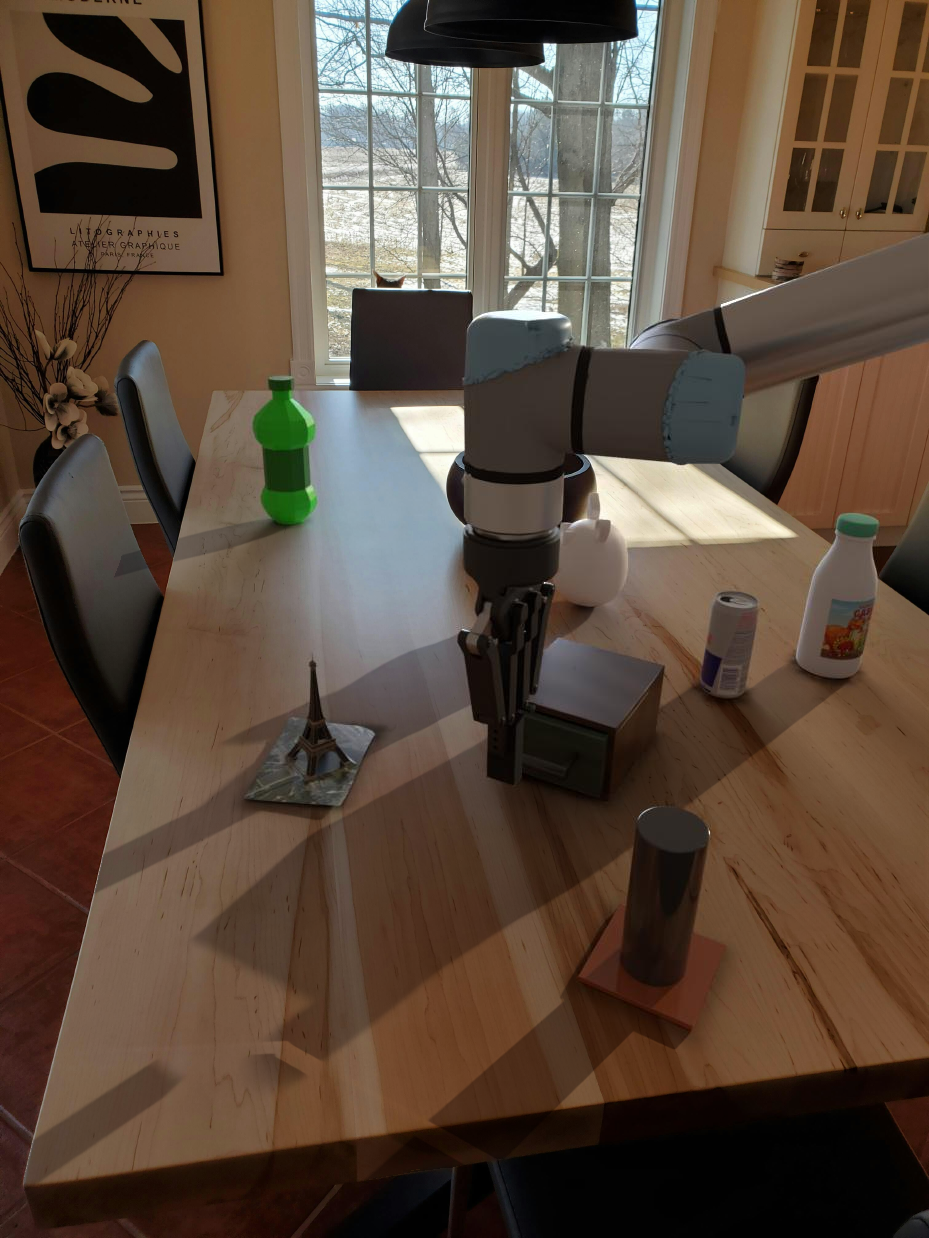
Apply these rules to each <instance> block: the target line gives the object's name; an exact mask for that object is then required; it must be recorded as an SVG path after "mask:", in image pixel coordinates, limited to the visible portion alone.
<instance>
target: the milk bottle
mask: <svg viewBox="0 0 929 1238" xmlns="http://www.w3.org/2000/svg"><path fill="white" fill-rule="evenodd" d="M879 525H880V522H879V520H878V519H876V518H875V517H874V516H871V515H867V514H865V513H864V514H863V513H855V512H847V513H846V512H845V513H842V514H839V516H838V517H837V520H836V524H835V527H836V528H835V530H834V534H835V539H834V541H833V543H832V545H831V547H830V549H829V550H828V551H827V553H826V554H825V555H824V557H823V558H822V559H821V560H820V562H819V563H818V565H817V567H816V569H815V570H814V573H813V576H812V578H811V582H810V586H809V590H808V594H807V599H806V603H805V609H804V614H803V618H802V623H801V628H800V634H799V638H798V642H797V647H796V653H795V659H796V662H797V664H798V665H799V667H801V668H802V669H803V670H805V671H806V672H809V673H811V674H813V675H816V676H819V677H823V678H829V679H847V678H850V677H853V676H854V675H855V674H856V673H857V672H858V671H859V669H860V666H861V663H862V658H863V654H864V651H865V646H866V641H867V638H868V637H867V636H868V634H869V628H870V626H871V621H872V616H873V612H874V607H875V603H876V597H877V593H878V585H879V584H878V583H879V582H878V573H877V567H876V565H875V560H874V554H873V542H874V541H875V540H876V538H877V534H878V531H879V527H880V526H879Z"/></svg>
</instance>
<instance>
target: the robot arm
mask: <svg viewBox="0 0 929 1238" xmlns="http://www.w3.org/2000/svg"><path fill="white" fill-rule="evenodd" d="M928 342H929V231H928V232H925V233H922V234H919V235H917V236H914V237H912V238H908V239H906V240H903V241H900V242H897V243H895V244H891V245H889V246H886V247H883V248H880V249H877V250H874V251H872V252H869V253H868V252H867V253H866V254H863V255H860V256H857V257H854V258H851V259H849V260H845V261H842V262H840V263H836V264H834V265H832V266H828V267H826V268H823V269H819V270H817V271H814V272H812V273H808V274H805V275H802V276H800V277H797V278H794V279H791V280H788V281H786V282H782V283H779V284H777V285H773V286H770V287H768V288H765V289H762V290H759V291H757V292H753V293H751V294H748V295H745V296H743V297H739V298H735V300H731V301H728V302H726V303H725V302H724V303H722V304H721V305H719V306H715V307H713V308H710V309H706V310H702V311H700V312H697V313H694V314H692V315H689V316H686V317H683V318H670V317H669V318H666V319H663V320H660V321H658V322H655V323H653V324H651V325H648V326H647V327H645V328H644V329H643V330H642V331H641V332H640V333H639V334H637V335H636V336H635V337H634V338H633V340H632V341H631V342H630V344H629V346H628V347H626V348H625V347H596V346H588V345H587V346H586V345H585V344H579V343H575V337H574V336H573V324H572V322H571V320H570V318H569V317H567V316H566V315H564V314H561V313H557V312H551V311H547V312H544V311H541V310H523V309H522V310H521V309H517V310H515V309H513V310H497V311H490V312H485V313H482V314H480V315H478V316H476V317H475V318H474V319H472V320H471V322H470V324H468V328H467V330H466V343H465V359H464V360H465V361H464V377H463V378H462V379H461V381H462V383H461V385H462V386H463V432H464V433H463V434H464V435H463V437H464V442H463V446H464V459H463V466H464V467H463V468H464V474H463V476H462V478H461V484H462V485H463V487H464V488H463V492H464V493H463V518H464V520H465V521H466V523H467V524H466V525H465V526H464V527H463V531H462V567H463V570H464V572H465V573H466V574H467V575H468V576H469V577H470V578H471V579H472V580H473V581H474V582H475V584H476V585H477V587H478V590H477V595H476V600H475V604H474V613H475V616H476V620H475V622H474V624H473V626H472V628H471V630H467V629H461V630H460V631H459V632H458V634H457V638H456V639H457V644H458V646H459V648H460V651H461V652H462V654H463V659H464V664H465V665H464V666H465V671H466V679H467V685H468V693H469V700H470V707H471V713H472V714H471V715H472V719H473V721H474V722H477V723H480V724H483V725H487V738H486V739H487V743H486V744H487V745H486V747H487V748H486V749H487V750H486V778H488V779H492V780H494V781H498V782H501V783H503V784H506V785H510V786H513V787H515V786H516V785H517V783H518V782H519V781H520V780H521V779H522V778H523V777H522V775H523V773H522V756H523V732H524V714H523V711H526V712H529V713H533V712H534V711H535V709H536V705H537V703H534V702H530V701H529V694H531V695H535V693H536V692H537V689H538V682H539V676H540V669H541V662H542V656H543V652H544V649H545V641H546V635H547V630H548V621H549V615H550V610H551V606H552V603H553V600H554V596H555V592H556V588H555V585H554V584H553V583H551V582H549V581H550V580H552V578H553V577H554V576H555V574H556V573H557V571H558V568H559V553H560V538H561V537H560V535H561V532H560V527H558V526H559V525H561V523H562V520H563V510H564V509H563V508H564V486H565V484H564V483H565V456H566V454H572V455H580V456H593V457H605V458H616V459H625V460H627V459H628V460H638V461H649V462H660V463H671V464H674V465H676V466H686V465H719V464H724V463H726V462H728V461H729V460H730V459H731V458H732V457H733V455H734V453H735V451H736V446H737V442H738V435H739V430H740V423H741V415H742V407H743V400H744V399H745V398H747V397H751V396H754V395H758V394H760V393H764V392H767V391H770V390H773V389H776V388H780V387H784V386H786V385H790V384H793V383H797V382H799V381H803V380H806V379H810V378H813V377H816V376H819V375H822V374H825V373H831V372H833V371H835V370H839V369H842V368H847V367H849V366H853V365H856V364H859V363H862V362H866V361H868V360H873V359H875V358H879V357H882V356H885V355H888V354H892V353H895V352H898V351H903V350H905V349H908V348H911V347H914V346H918V345H922V344H925V343H928Z"/></svg>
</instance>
